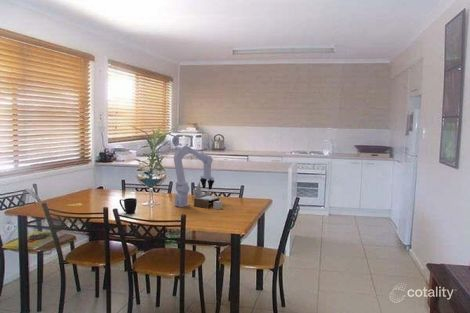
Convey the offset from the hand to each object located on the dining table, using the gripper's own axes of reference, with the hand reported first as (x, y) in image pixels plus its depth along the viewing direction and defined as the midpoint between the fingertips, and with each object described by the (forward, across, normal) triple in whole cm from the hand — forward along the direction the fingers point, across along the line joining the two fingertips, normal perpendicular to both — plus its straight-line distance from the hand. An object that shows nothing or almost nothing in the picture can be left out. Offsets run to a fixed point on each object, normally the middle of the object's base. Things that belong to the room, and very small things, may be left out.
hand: (207, 188), depth 314 cm
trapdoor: (+5, -12, +9) cm, 16 cm away
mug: (+10, +1, +66) cm, 67 cm away
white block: (+10, -25, +10) cm, 29 cm away
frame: (+10, -12, +9) cm, 18 cm away
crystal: (+10, +7, 0) cm, 12 cm away
